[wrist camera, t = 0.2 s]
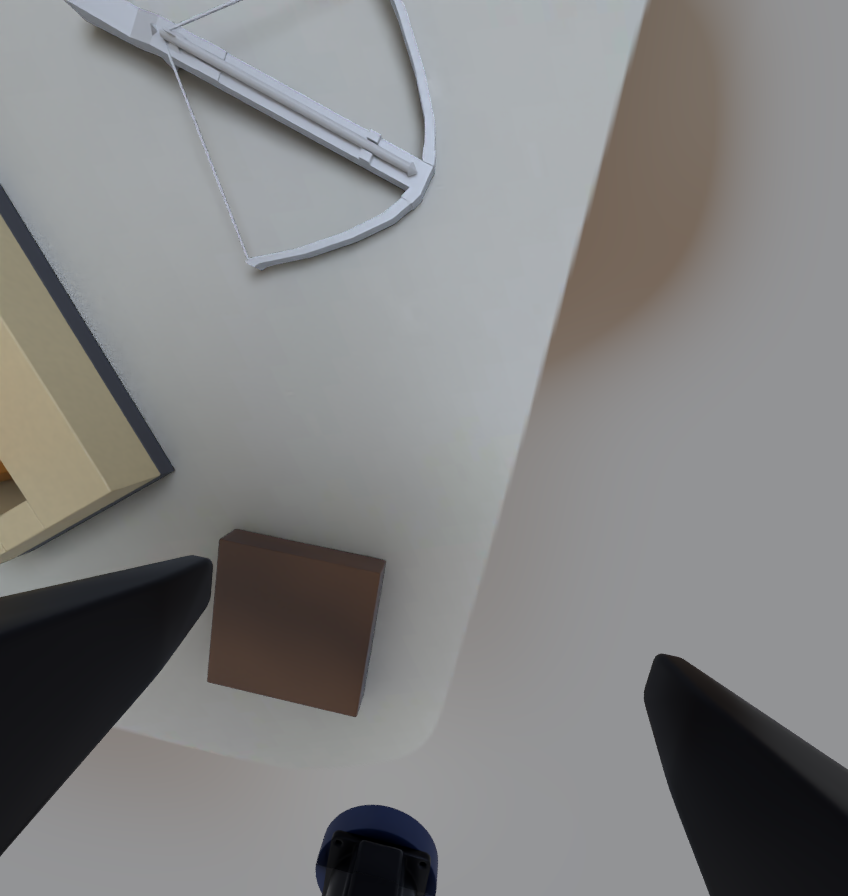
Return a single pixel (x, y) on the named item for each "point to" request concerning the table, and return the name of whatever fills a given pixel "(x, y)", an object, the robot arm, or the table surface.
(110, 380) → the toaster
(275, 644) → the bread board
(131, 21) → the crossbow
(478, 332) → the table surface
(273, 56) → the table surface
